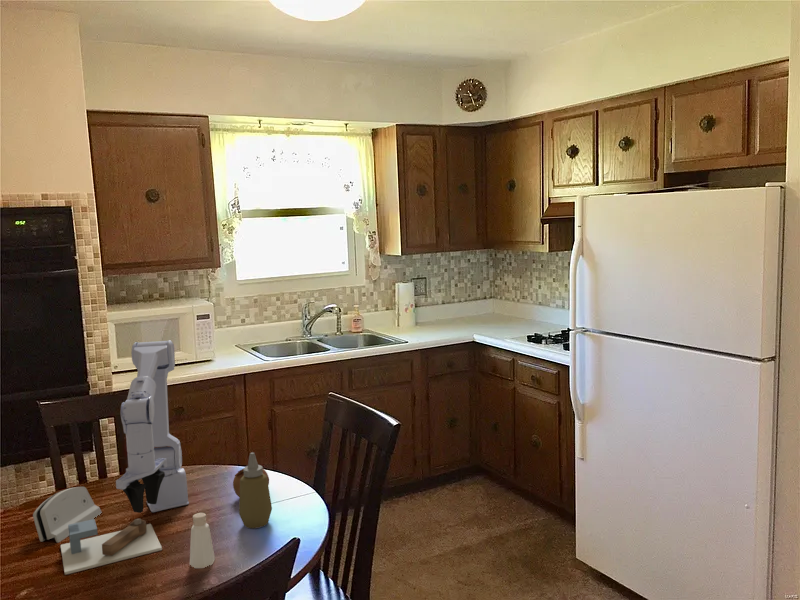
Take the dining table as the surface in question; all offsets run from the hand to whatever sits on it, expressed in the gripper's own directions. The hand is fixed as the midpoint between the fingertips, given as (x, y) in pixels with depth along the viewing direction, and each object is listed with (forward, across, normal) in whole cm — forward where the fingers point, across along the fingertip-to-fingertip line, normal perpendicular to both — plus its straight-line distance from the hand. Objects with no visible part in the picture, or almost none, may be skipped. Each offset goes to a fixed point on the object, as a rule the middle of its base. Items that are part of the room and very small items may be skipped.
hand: (145, 507), depth 154 cm
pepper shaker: (+10, +3, +17) cm, 20 cm away
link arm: (+8, +1, -5) cm, 10 cm away
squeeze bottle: (+10, -17, +18) cm, 27 cm away
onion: (+10, -31, +9) cm, 33 cm away
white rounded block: (+10, -3, -27) cm, 29 cm away
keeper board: (+9, +3, -8) cm, 13 cm away
